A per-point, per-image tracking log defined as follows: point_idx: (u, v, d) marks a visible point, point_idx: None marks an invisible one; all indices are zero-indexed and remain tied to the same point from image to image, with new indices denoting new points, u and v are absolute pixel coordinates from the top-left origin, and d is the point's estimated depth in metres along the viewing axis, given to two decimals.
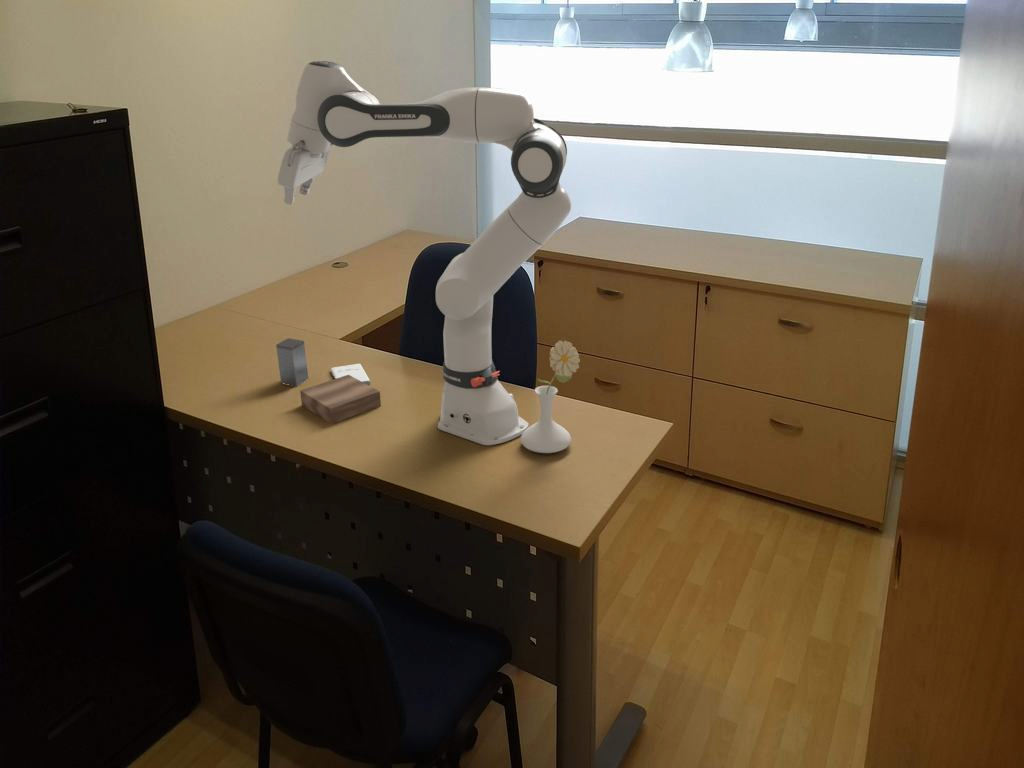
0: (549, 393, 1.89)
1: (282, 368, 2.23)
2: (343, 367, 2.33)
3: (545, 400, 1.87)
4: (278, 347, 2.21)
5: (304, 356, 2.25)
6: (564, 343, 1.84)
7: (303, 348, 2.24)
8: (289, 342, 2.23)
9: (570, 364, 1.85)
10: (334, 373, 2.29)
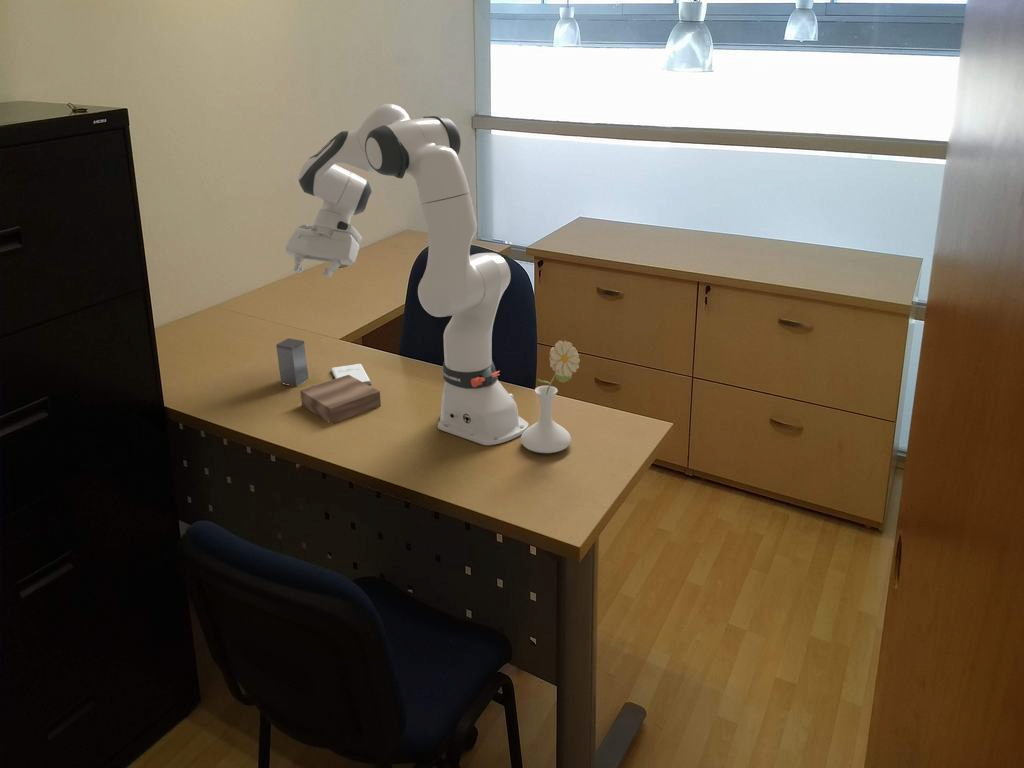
0: (548, 393, 1.89)
1: (282, 368, 2.24)
2: (344, 367, 2.32)
3: (545, 400, 1.87)
4: (278, 347, 2.21)
5: (304, 356, 2.25)
6: (564, 343, 1.84)
7: (303, 348, 2.24)
8: (289, 342, 2.23)
9: (570, 364, 1.85)
10: (335, 373, 2.29)
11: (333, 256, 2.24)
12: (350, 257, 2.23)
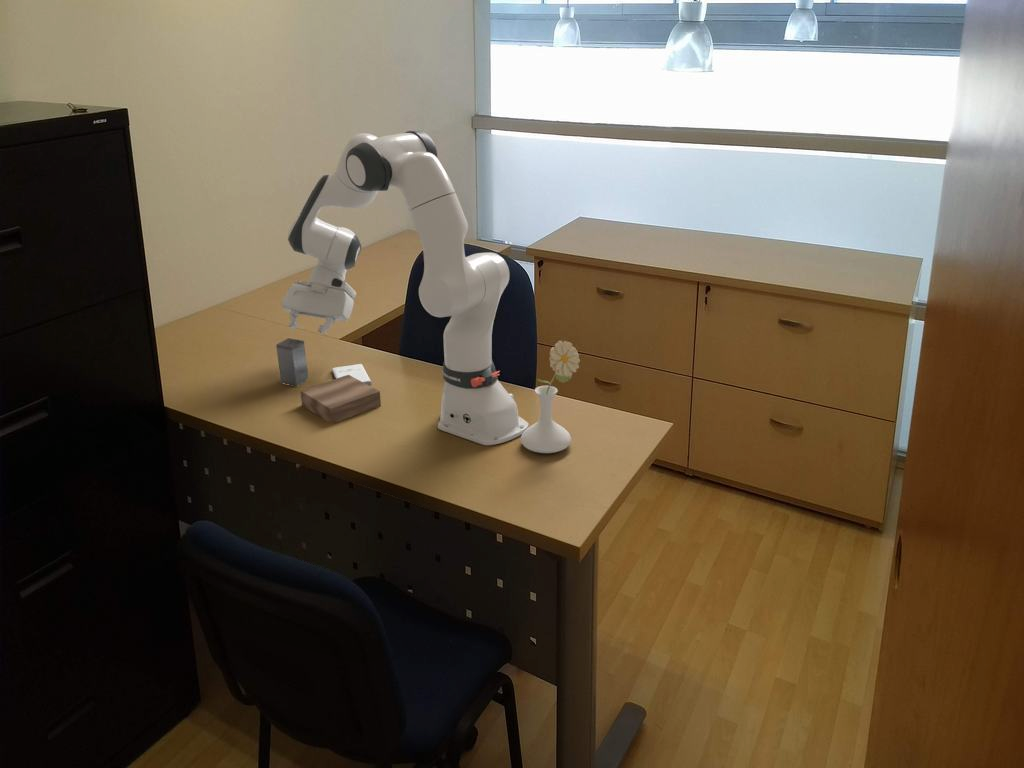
0: (548, 393, 1.89)
1: (282, 368, 2.24)
2: (344, 367, 2.32)
3: (545, 400, 1.87)
4: (278, 347, 2.21)
5: (304, 356, 2.25)
6: (564, 343, 1.84)
7: (303, 348, 2.24)
8: (289, 342, 2.23)
9: (570, 364, 1.85)
10: (335, 373, 2.29)
11: (327, 313, 2.26)
12: (344, 314, 2.25)
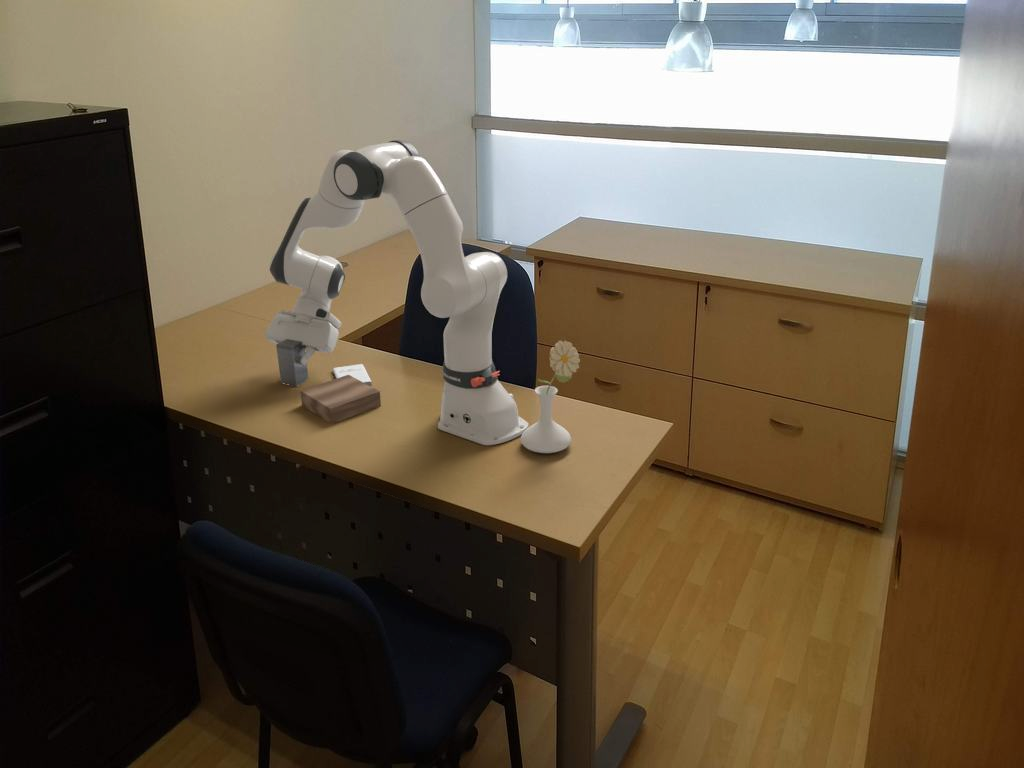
0: (549, 393, 1.89)
1: (282, 368, 2.23)
2: (345, 367, 2.32)
3: (545, 400, 1.87)
4: (278, 347, 2.21)
5: None
6: (564, 343, 1.84)
7: (303, 348, 2.24)
8: (289, 342, 2.23)
9: (570, 364, 1.85)
10: (336, 373, 2.29)
11: (312, 344, 2.22)
12: (329, 346, 2.21)
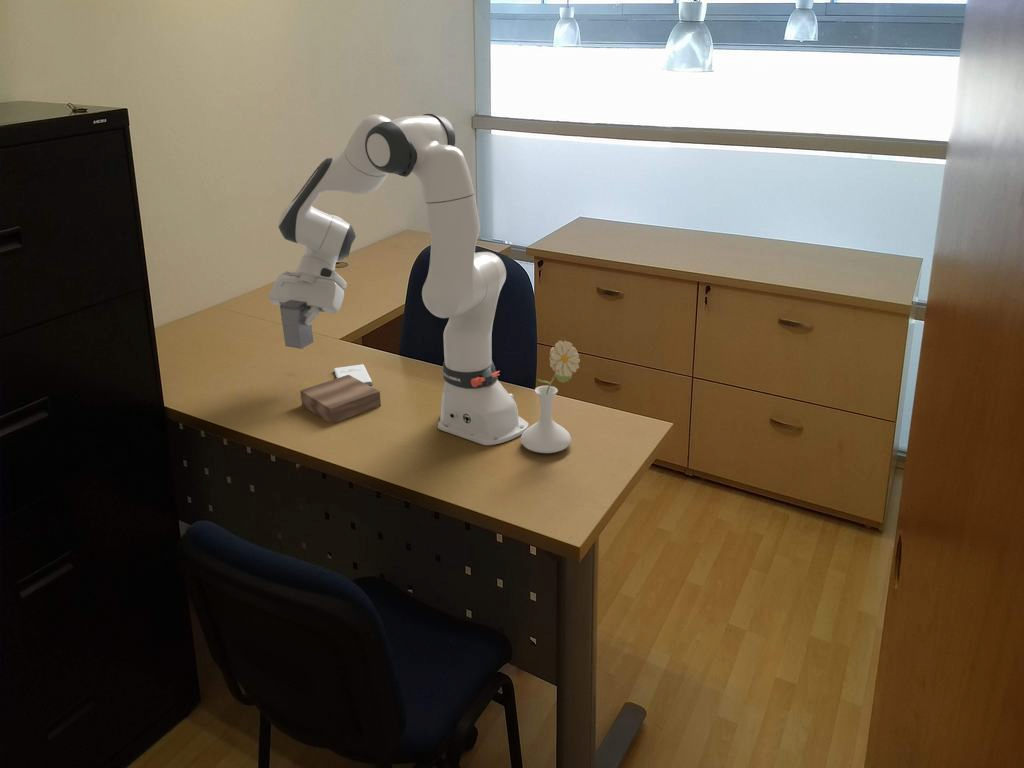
0: (549, 393, 1.89)
1: (286, 330, 2.16)
2: (346, 367, 2.32)
3: (545, 400, 1.87)
4: (282, 307, 2.14)
5: None
6: (564, 343, 1.84)
7: (308, 309, 2.17)
8: (293, 302, 2.15)
9: (570, 364, 1.85)
10: (337, 373, 2.29)
11: (317, 304, 2.14)
12: (334, 305, 2.14)
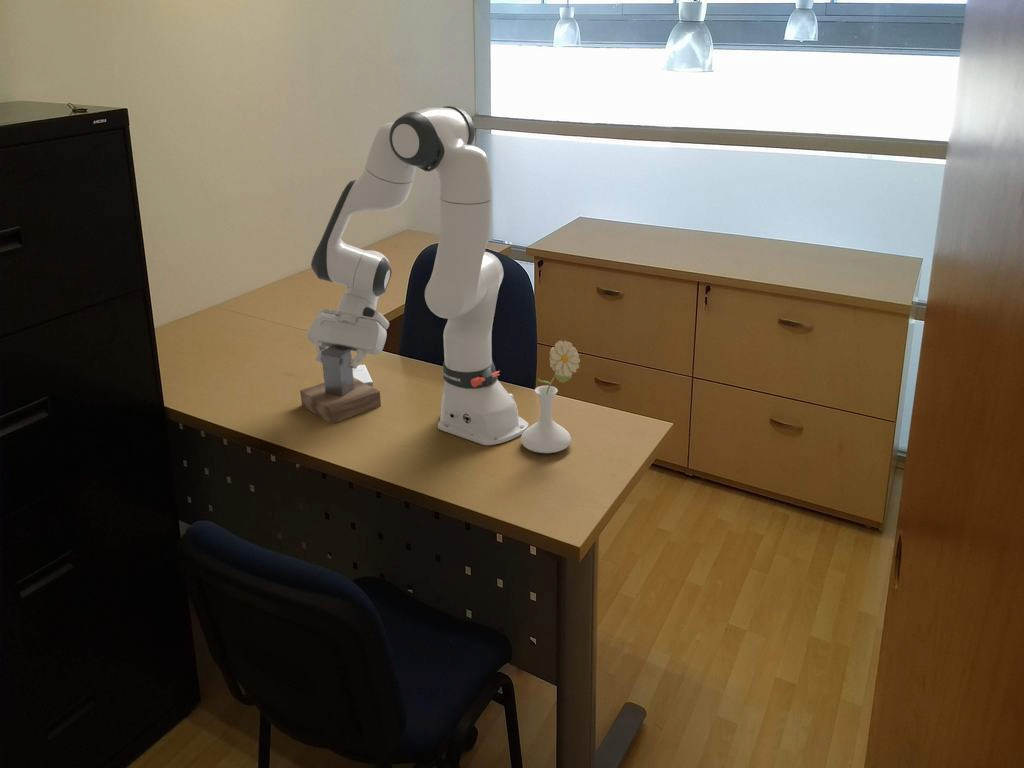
0: (549, 393, 1.89)
1: (327, 377, 2.08)
2: None
3: (545, 400, 1.87)
4: (323, 354, 2.06)
5: None
6: (564, 343, 1.84)
7: (350, 355, 2.09)
8: (335, 348, 2.08)
9: (570, 364, 1.85)
10: None
11: (359, 346, 2.06)
12: (377, 347, 2.05)
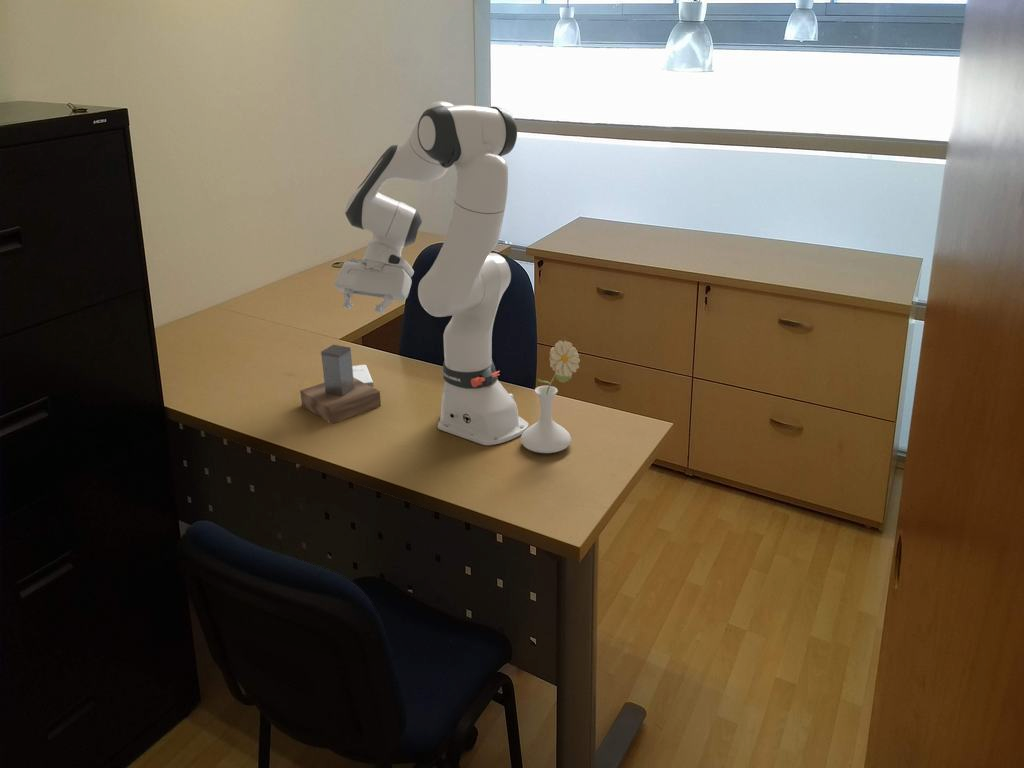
0: (548, 393, 1.89)
1: (327, 377, 2.08)
2: None
3: (545, 400, 1.87)
4: (323, 354, 2.06)
5: (350, 364, 2.10)
6: (564, 343, 1.84)
7: (350, 355, 2.09)
8: (335, 348, 2.08)
9: (570, 364, 1.85)
10: None
11: (385, 292, 2.13)
12: (403, 293, 2.12)
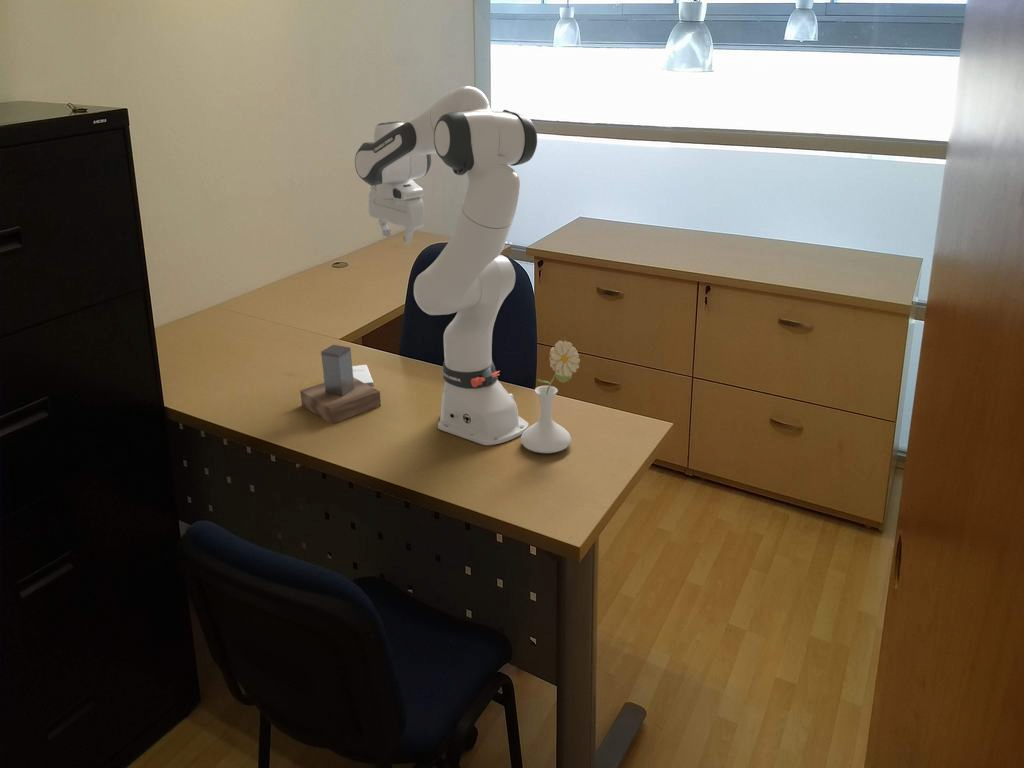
0: (548, 393, 1.89)
1: (327, 377, 2.08)
2: None
3: (545, 400, 1.87)
4: (323, 354, 2.06)
5: (350, 364, 2.10)
6: (564, 343, 1.84)
7: (350, 355, 2.09)
8: (335, 348, 2.08)
9: (570, 364, 1.85)
10: None
11: (403, 225, 2.19)
12: (416, 225, 2.16)
